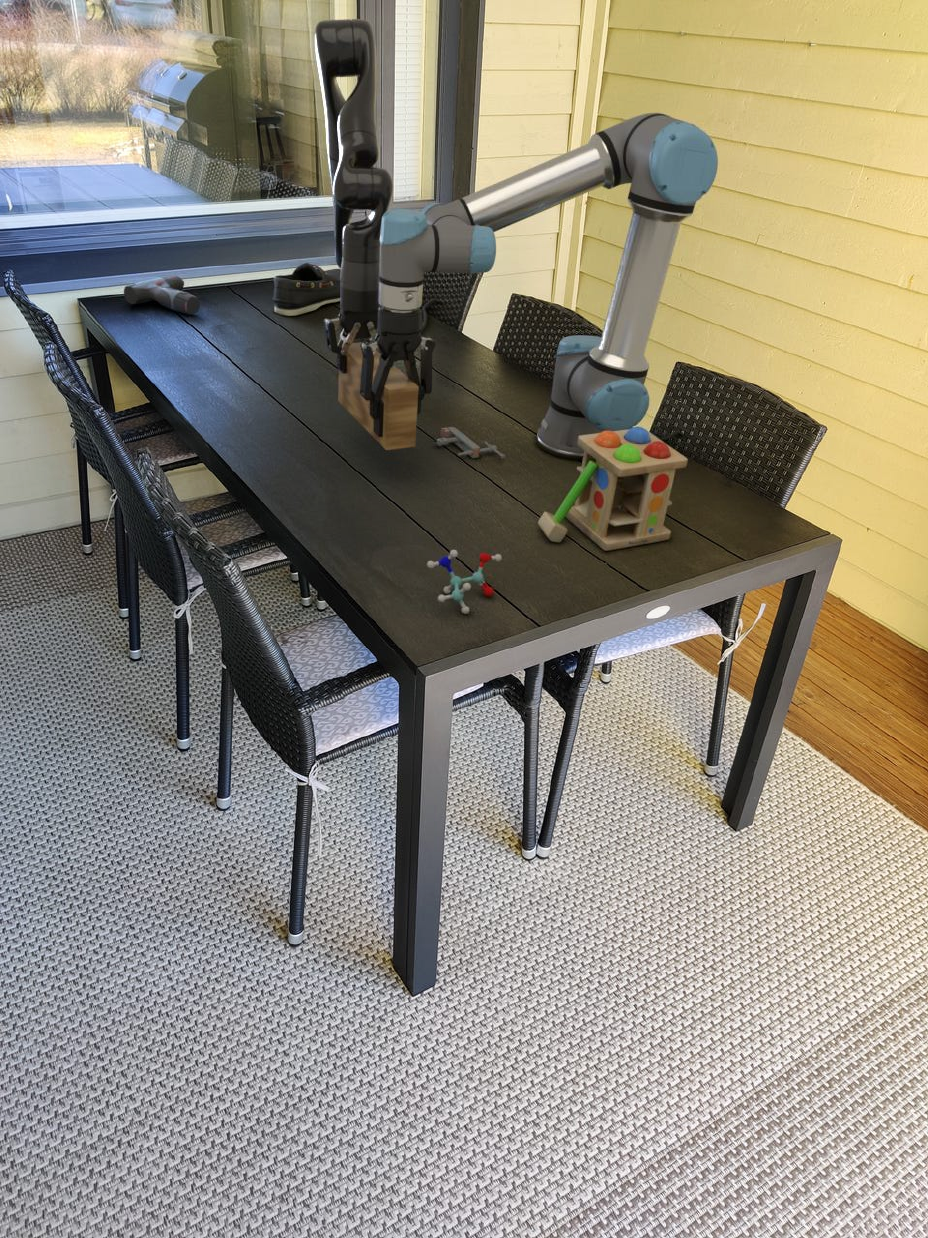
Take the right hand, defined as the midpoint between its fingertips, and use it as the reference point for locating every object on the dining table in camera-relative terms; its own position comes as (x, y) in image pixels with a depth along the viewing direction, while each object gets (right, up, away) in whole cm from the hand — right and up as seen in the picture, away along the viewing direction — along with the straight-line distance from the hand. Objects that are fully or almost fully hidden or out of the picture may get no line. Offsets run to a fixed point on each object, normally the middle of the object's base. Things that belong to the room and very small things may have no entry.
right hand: (394, 431), depth 182 cm
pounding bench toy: (+37, -19, -4) cm, 42 cm away
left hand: (-8, +14, +10) cm, 19 cm away
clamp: (+13, 0, +20) cm, 24 cm away
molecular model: (+12, -31, -26) cm, 42 cm away
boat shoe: (-30, +55, +95) cm, 113 cm away
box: (-4, +3, +8) cm, 9 cm away
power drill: (-64, +50, +82) cm, 116 cm away
